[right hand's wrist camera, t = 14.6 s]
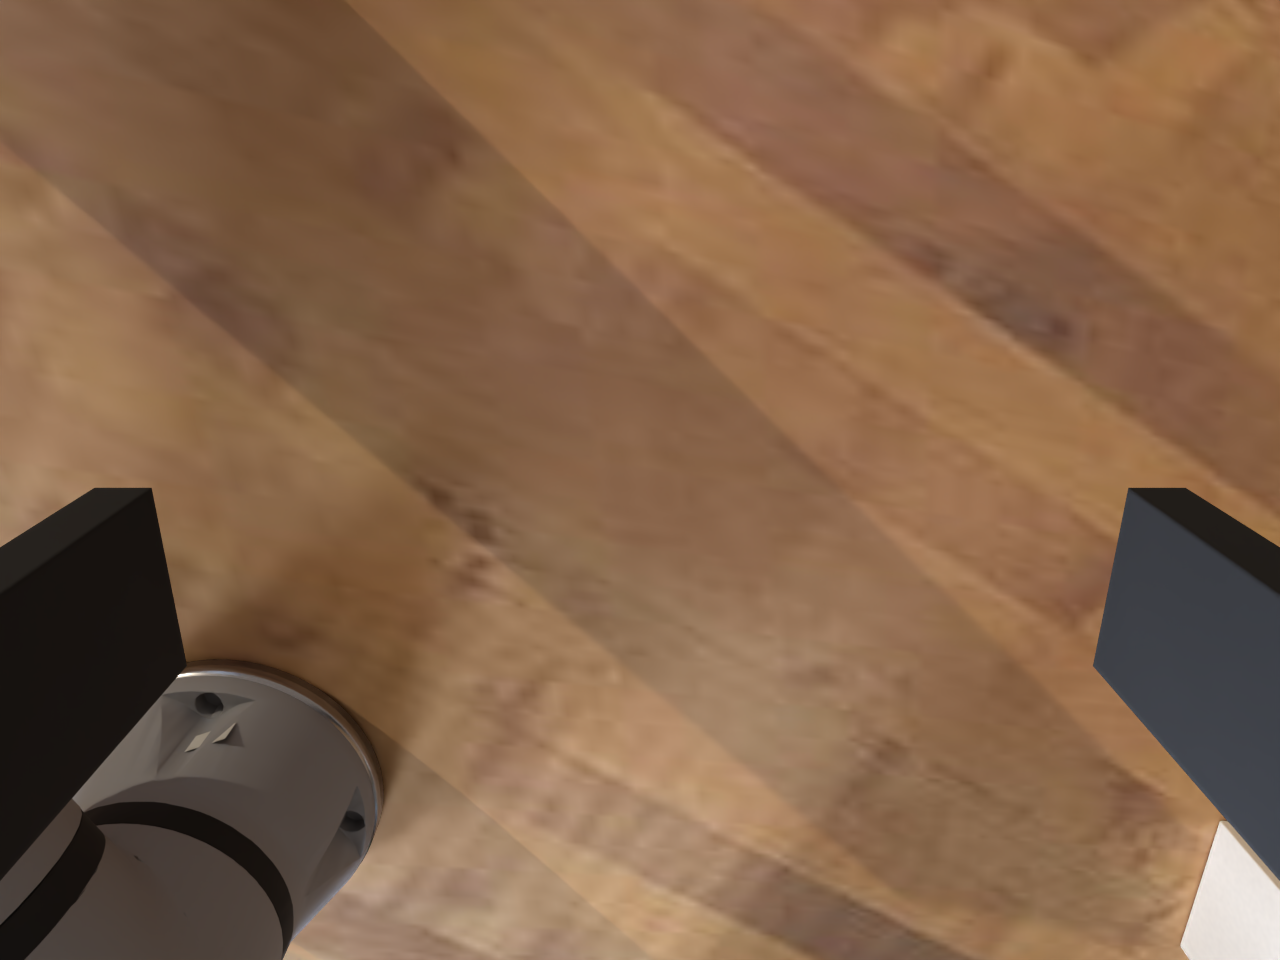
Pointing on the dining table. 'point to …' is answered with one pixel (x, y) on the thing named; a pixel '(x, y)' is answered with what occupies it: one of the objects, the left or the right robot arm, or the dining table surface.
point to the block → (1234, 905)
